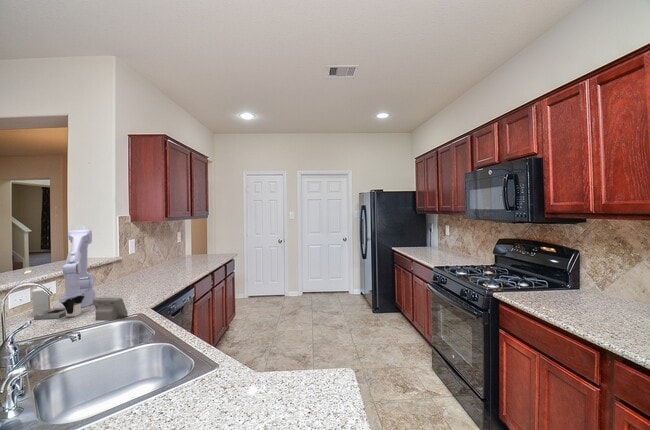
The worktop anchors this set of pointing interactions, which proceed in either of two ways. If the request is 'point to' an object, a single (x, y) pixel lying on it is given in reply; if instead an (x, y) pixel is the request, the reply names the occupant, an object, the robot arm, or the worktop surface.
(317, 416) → the worktop surface
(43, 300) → the small box
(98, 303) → the digital clock
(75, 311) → the plug
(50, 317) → the socket plate
